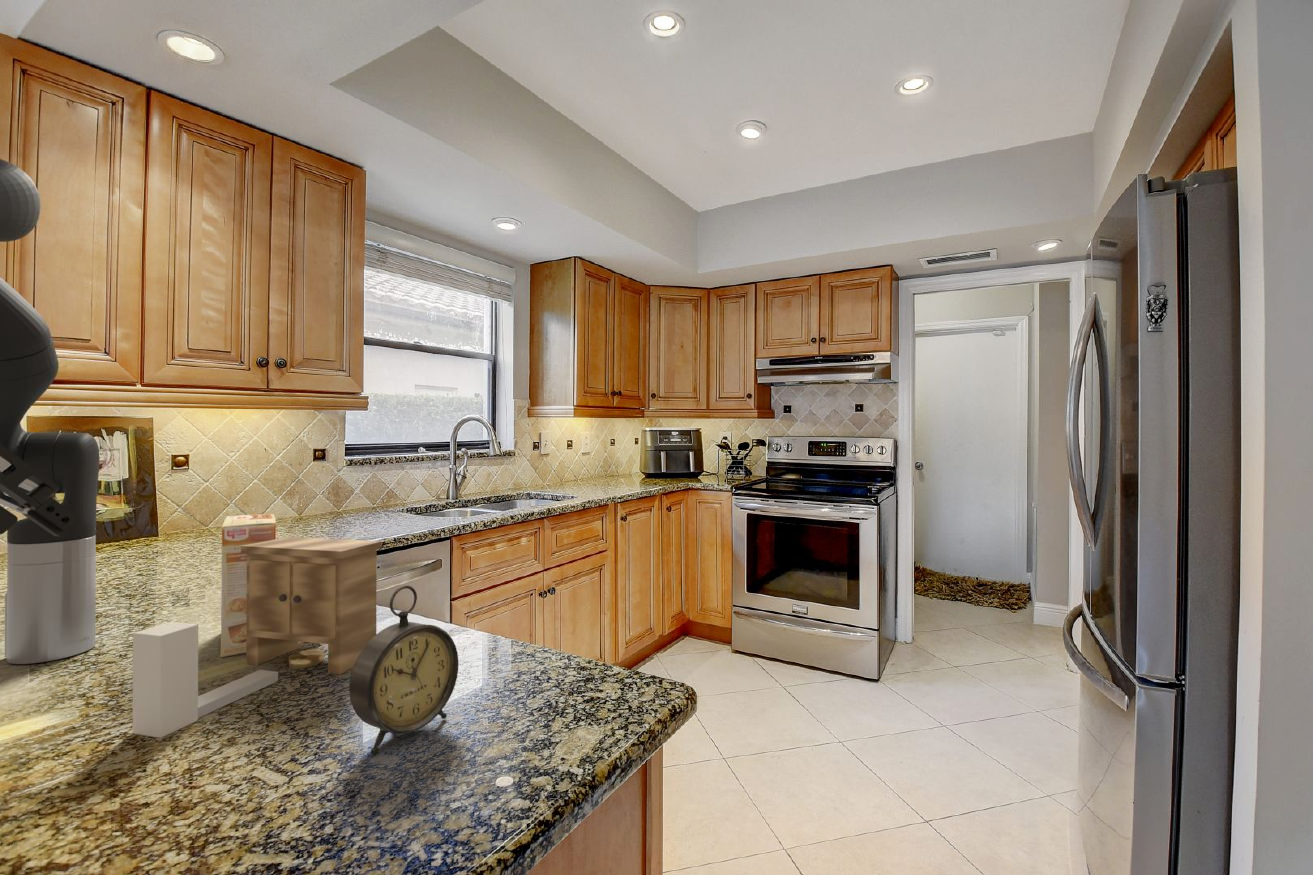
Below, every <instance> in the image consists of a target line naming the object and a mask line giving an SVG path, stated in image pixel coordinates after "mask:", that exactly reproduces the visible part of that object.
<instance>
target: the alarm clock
mask: <svg viewBox="0 0 1313 875" xmlns="http://www.w3.org/2000/svg"><path fill="white" fill-rule="evenodd" d="M404 589H405V590H406V589H408V590H410V591H411V592H412V594H413V603H412V605H411V606H410V608H409V610H401V611H399V613H397V612H396V611H395V609H394V606H393V605H394V600H395V597H396V595H397V594H398V593H399V592H400V591H402V590H404ZM417 600H418V594H417V591H416V589H415V588H414V587H412V586H411V585H402V586H400V587H399V588H397V589H396V590H395V591H394V592H393V594H392V595H391V597H390V601H389V609H390V612H391V613H392V614H394V616H396V617H398V618H399V622H398V623H397V622H396V623H394V624H392V625H389V626H387V627H385V628H383V629H382V630H380V631H379V632H378V633H376V635H375V636H374V637H373V638H372V639H371V640H370V641H369V642H368V643H367V644H366V645H365V647H364V648H363V649H362V651H361V653H360V654H359V656H358V658H357V660H356V662H355V664H354V667H353V668H352V669H351V674H350V679H349V688H348V689H349V692H348V693H349V699H350V704H351V706H352V709H353V711H354V713H355V714H356V716H358V718H360V720H361V721H362V722H364V723H365V724H367V725H369V726H372V727H373V728H374V727H375V728H376V729H379V732H378V734H377V736H376V737H375V738H376V739H375V742H374V745H373V747H372V748H371V749H370V753H371V754H372V755H375V754H377V753H378V748H379V746H380V745H381V743H382V742H383V741H384V738H385V736H386V734H389V733H390V734H395V735H405V734H410V733H413V732H416V731H418V730H421V729H422V728H424V727H425V726H426V725H428V724H429V723H431V722H433V720H434V719H436V717H437V716H440V717H441V720H445V719H447V713H446V712H444V711H443V709H444V708H445V706H446V705H447V703H448V702H449V699H450V698H451V696H452V695H453V694H452V693H453V691H454V689H455V687H456V684H457V678H458V673H459V655H458V649H457V646H456V644H455V642H454V640H453V638H452V637H451V635H450V634H449V633H448V632H447V631H445V630H444V629H443V628H441V627H439V626H436V625H433V624H425V623H420V622H414V621H409V620H408V616H409V613H411V612H412V611H413V610H414V608H415V607H416V604H417Z"/></svg>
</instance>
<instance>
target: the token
mask: <svg viewBox="0 0 1313 875" xmlns="http://www.w3.org/2000/svg"><path fill="white" fill-rule="evenodd" d="M323 661H324V662H325V650H323V649H319V648H313V649H306V650H305V649H303V650H300V651H297V652H295V653H292V654H290V655H289V656H288V667H289V668H291V669H296V670H299V669H307V668H313V667H316V666H318V664H319V665H321V664H322V663H324V662H323ZM320 663H321V664H320Z"/></svg>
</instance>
